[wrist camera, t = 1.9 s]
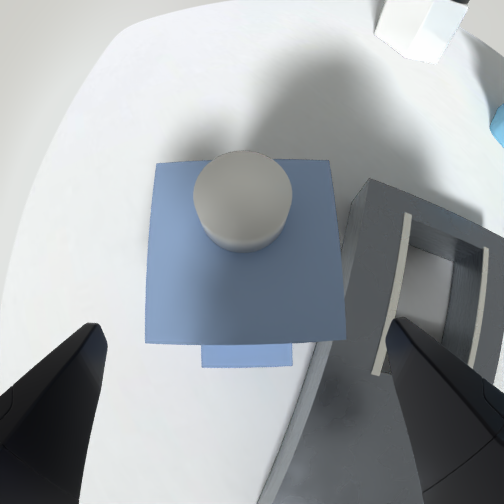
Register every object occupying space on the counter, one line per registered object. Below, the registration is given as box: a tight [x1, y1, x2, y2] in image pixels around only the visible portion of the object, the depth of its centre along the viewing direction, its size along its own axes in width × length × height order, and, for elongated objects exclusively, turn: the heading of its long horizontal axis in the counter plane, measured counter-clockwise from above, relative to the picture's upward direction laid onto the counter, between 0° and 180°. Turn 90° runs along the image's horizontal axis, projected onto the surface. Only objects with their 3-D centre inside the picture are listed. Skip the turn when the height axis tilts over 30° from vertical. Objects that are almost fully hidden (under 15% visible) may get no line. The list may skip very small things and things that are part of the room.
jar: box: [374, 0, 469, 64], centre depth 20 cm, size 9×8×12 cm
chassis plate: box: [257, 178, 504, 504], centre depth 15 cm, size 22×12×4 cm, turn 162°
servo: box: [145, 151, 346, 368], centre depth 12 cm, size 7×4×13 cm, turn 1°
